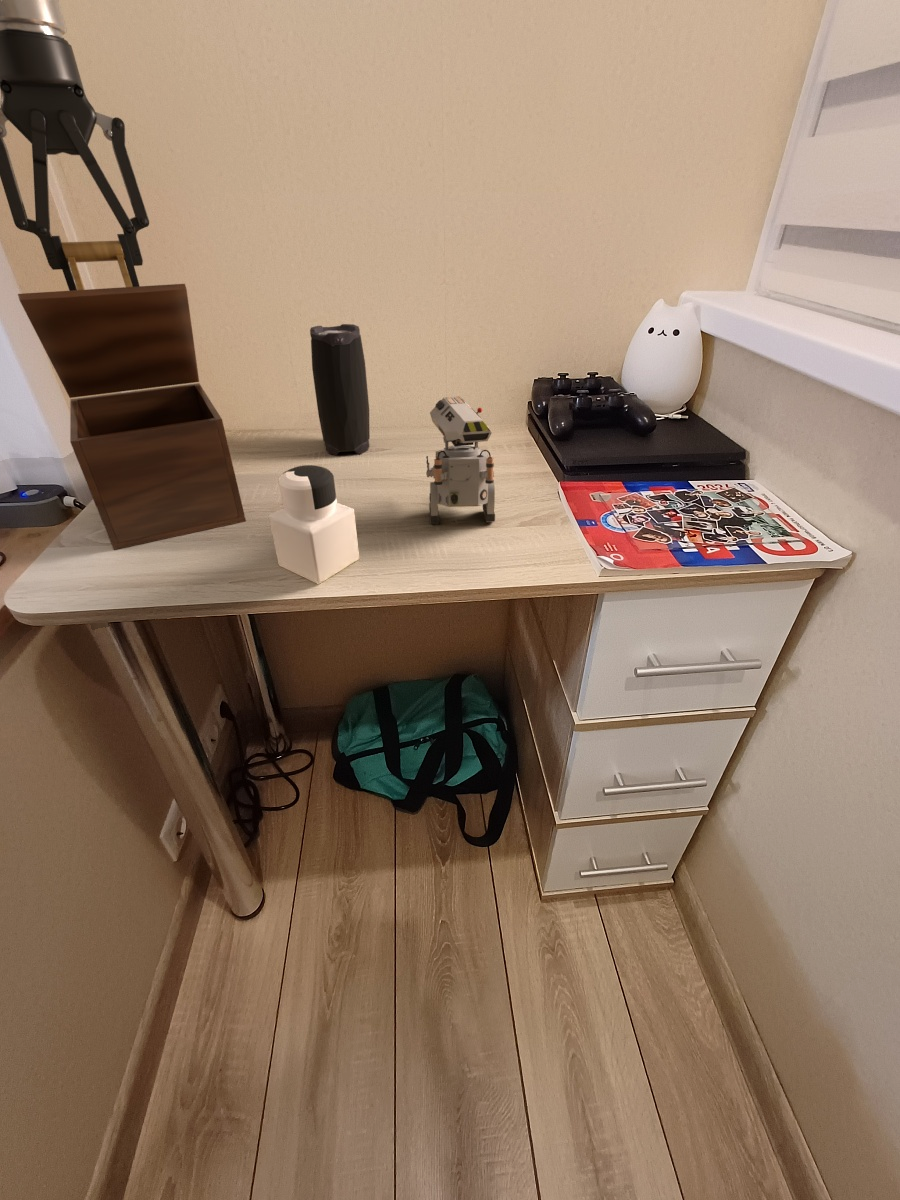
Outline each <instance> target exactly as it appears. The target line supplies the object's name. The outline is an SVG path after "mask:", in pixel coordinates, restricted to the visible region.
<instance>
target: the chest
mask: <svg viewBox="0 0 900 1200" xmlns="http://www.w3.org/2000/svg"><path fill="white" fill-rule="evenodd" d="M69 399H70V400H69V402H70V403H69V405H70V407H69V408H70V410H69V411H70V413H69V415H70V417H69V421H70V422H69V423H70V426H69V427H70V428H69V431H70V432H69V433H70V435H69V436H70V438H69V439H70V441H69V442H70V445H71V447H72V450H73V453H74V454H75V457H76V459H77V462H78V465H79V467H80V470H81V472H82V475H83V477H84V479H85V483H86V485H87V488H88V489H89V492H90V494H91V497H92V499H93V502H94V504H95V507H96V510H97V513H98V514H99V517H100V519H101V522H102V525H103V527H104V529H105V532H106V534H107V536H108V540H109V542H110V544H111V546H112V550H114V551H116V550H120V549H124V548H130V547H135V546H138V545H139V546H140V545H144V544H148V543H152V542H156V541H161V540H165V539H169V538H175V537H179V536H184V535H188V534H192V533H197V532H202V531H206V530H210V529H215V528H221V527H225V526H229V525H234V524H238V523H239V524H240V523H243V522H246V521H247V520H246V517H245V511H244V506H243V504H242V499H241V498H242V497H241V493H240V490H239V486H238V481H237V476H236V473H235V468H234V463H233V460H232V455H231V451H230V447H229V442H228V438H227V435H226V430H225V426H224V421H223V417H221V415H220V413H219V412H218V410H217V409H216V407H215V406H214V404H213V402H212V401H211V399H210V398H209V396H208V394H207V393H206V391H205V390H204V388H203V387H202V385H201V383H200V382H195V383H187V384H179V385H171V386H163V387H155V388H147V389H139V390H131V391H123V392H115V393H107V394H99V395H91V396H83V397H75V398H69Z"/></svg>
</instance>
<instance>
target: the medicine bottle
mask: <svg viewBox="0 0 900 1200" xmlns="http://www.w3.org/2000/svg"><path fill="white" fill-rule="evenodd" d="M278 483H279V484H278V485H279V490H280V496H281V501H282V506H283V507H281V508H279V509H278V510H275V511H274V512H272V513H270V514H269V515H268V520H269V524H270V529H271V534H272V539H273V543H274V549H275V554H276V557H277V563H278V566H280V568H283V569H285V570H288V571H289V572H292V573H294V574H295V575H298V576H300V577H303V578H304V579H306V580H308V581H311V582H313V583H315V584H317V585H320V584H322V583H324V582H325V581H326V580H328V579H330V578H332V577H333V576H334V575H336V574H338V573H340V572H341V571H343V570H344V569H346V568H347V567H349V566H351V565H352V564H353V563H355V562H357V561H358V560H360V553H359V545H358V544H359V541H358V534H357V533H358V532H357V525H356V515H355V509H354V508H352V507H349V506H347V505H344V504H342V503H339V502H338V501H337V492H336V485H335V476H334V474H333V472H332V471H331V470H329V469H328V468H326V467H323V466H319V465H313V464H304V465H299V466H295V467H292V468H290V469H288V470H286V471H284V472H283V473H282V474H281V475H280V476H279V478H278Z"/></svg>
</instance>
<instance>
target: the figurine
mask: <svg viewBox="0 0 900 1200" xmlns="http://www.w3.org/2000/svg"><path fill="white" fill-rule="evenodd" d="M476 411H477V412H476ZM476 411H475V409H473V408H472V407H471V406H470V405H469V404H468V403H467V402H466V401H465V400H464V399H463V398H462V397H461V396H451V397H450V396H446V397H443V398H442V399H440V400H438V401H437V402H436V403H435V406H434V408H432V409H431V411H430V412H429V415H430V419H431V421H432V423H433V424H434V426H435V427H436V428H437V430H438V431H439V432H440V433H441V435H442V436H443V437H442V439H443V444H444V448H443V449H440V450H435V458H434V459H433V460H434V461H433V466H432V467H431V464H430V462H429V456H428V455H426V457H425V459H426V469H427V470H426V474H425V475H426V477H427V478H432V479H434V480H433V481H431V482H429V503H428V507H429V508H428V509H429V522H430V524H431V525H438V524H440V512H439V505H440V506H444V507H448V508H453V507H454V508H462V507H481V506H482V510H483V515H484V518H485V522H486V523H494V522H496V513H495V503H496V501H495V500H496V490H495V487H496V486H495V480H494V477H495V471H494V467H495V463H494V462H495V461H494V457H492V456H491V452H490V450H488V449H480V447H479V443H482V442H488V441H489V439H490V438H491V436H492V431H491V430H490V427H489V426H488V425H487V424H486V423H485V421H484V420H483V419H482V418H481V416H479V414H480V413H482V412H483V408H482V407H478V408H477V410H476ZM449 443H451V444H452V445H449Z"/></svg>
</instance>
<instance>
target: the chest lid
mask: <svg viewBox="0 0 900 1200" xmlns="http://www.w3.org/2000/svg"><path fill="white" fill-rule="evenodd" d="M61 245H62V248H63V251H64V254H65V257H66V260H67V262H68V263H69V266H70V269H71V272H72V275H73V278H74V281H75V285H76V288H77V290H72V291H69V290H61V291H60V290H58V291H57V290H55V291H42V292H41V291H39V292H24V293H23V292H22V293H17V298H18V301H19V302H20V304H21V306H22V308H23V310H24V312H25V315H26V316H27V318H28V320H29V321H30V324H31V326H32V328H33V330H34V332H35V334H36V336H37V337H38V339H39V341H40V343H41V346H42V347H43V349H44V351H45V353H46V355H47V357H48V359H49V361H50V363H51V365H52V367H53V369H54V370H55V372H56V375H57V376H58V379H59V380H60V382H61V384H62V386H63V388H64V390H65V392H66V394H67V396H68V398H69V399H75V398H83V397H91V396H99V395H107V394H115V393H123V392H131V391H139V390H148V389H156V388H164V387H172V386H180V385H188V384H196V383H200V376H199V369H198V364H197V355H196V348H195V347H196V346H195V340H194V332H193V325H192V318H191V311H190V303H189V297H188V289H187V286H186V284H185V283H174V284H173V283H171V284H155V285H139V286H138V287H133V286H132V283H131V280H130V277H129V274H128V270H127V267H126V264H125V257H124V254H123V250H122V247H121V244H120V241H119V240H94V241H91V240H90V241H65V242H64V241H61ZM97 262H98V263H100V262H117V264H118V267H119V271H120V273H121V277H122V280H123V282H124V286H122V287H106V288H94V289H93V288H92V289H91V288H90V289H89V288H88V289H85V287H84V284H83V281H82V277H81V274H80V271H79V268H78V264H77V263H97Z"/></svg>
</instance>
